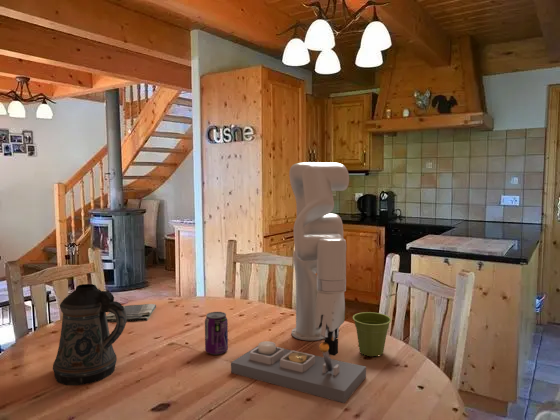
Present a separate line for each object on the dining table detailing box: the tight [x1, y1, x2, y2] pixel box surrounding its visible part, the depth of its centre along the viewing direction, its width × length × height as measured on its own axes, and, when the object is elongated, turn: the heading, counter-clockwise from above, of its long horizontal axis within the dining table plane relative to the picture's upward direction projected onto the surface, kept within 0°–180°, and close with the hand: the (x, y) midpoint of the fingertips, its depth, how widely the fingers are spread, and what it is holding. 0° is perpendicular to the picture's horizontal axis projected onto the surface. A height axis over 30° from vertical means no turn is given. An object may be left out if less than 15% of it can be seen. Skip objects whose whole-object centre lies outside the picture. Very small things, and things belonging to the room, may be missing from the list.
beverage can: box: [204, 311, 229, 356], centre depth 138 cm, size 7×7×12 cm
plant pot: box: [352, 311, 392, 357], centre depth 137 cm, size 12×12×11 cm
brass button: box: [289, 351, 307, 364], centre depth 122 cm, size 5×5×2 cm
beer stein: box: [52, 283, 127, 386], centre depth 123 cm, size 16×19×25 cm
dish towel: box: [106, 303, 157, 323], centre depth 177 cm, size 19×18×3 cm
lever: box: [318, 341, 333, 372], centre depth 114 cm, size 3×3×10 cm
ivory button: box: [257, 340, 277, 355], centre depth 126 cm, size 5×5×2 cm
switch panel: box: [230, 345, 367, 404], centre depth 122 cm, size 16×34×5 cm, turn 60°
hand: (331, 353), depth 115 cm, fingers closed
